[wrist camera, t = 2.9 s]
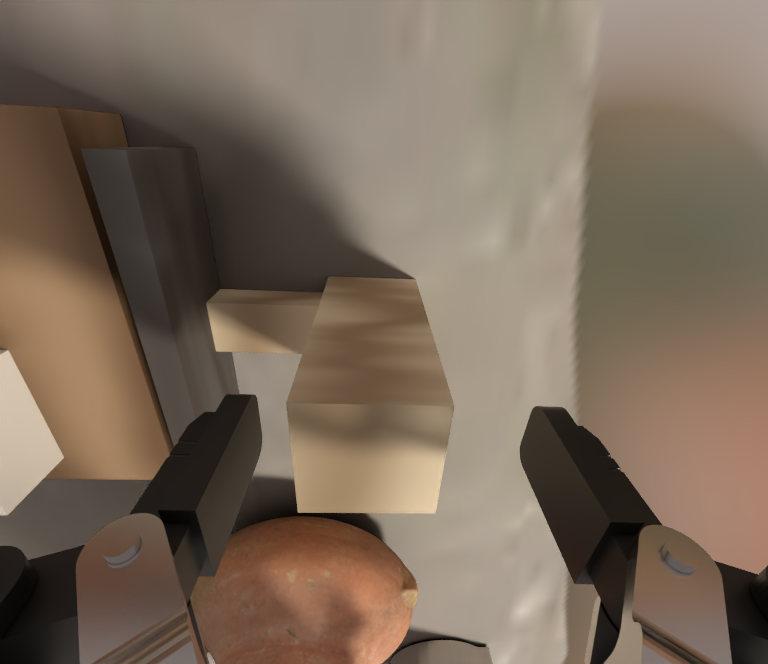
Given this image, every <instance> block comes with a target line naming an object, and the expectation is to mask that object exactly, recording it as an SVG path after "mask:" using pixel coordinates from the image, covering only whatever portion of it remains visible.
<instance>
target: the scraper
mask: <svg viewBox="0 0 768 664" xmlns="http://www.w3.org/2000/svg"><path fill="white" fill-rule="evenodd" d="M80 149H81V152H82V155H83V158H84V161H85V165H86V168H87V171H88V174H89V177H90V180H91V184H92V187H93V190H94V193H95V196H96V200H97V203H98V206H99V209H100V212H101V216H102V219H103V222H104V225H105V228H106V232H107V235H108V238H109V241H110V244H111V247H112V251H113V254H114V257H115V260H116V263H117V267H118V270H119V273H120V276H121V279H122V283H123V286H124V289H125V292H126V295H127V298H128V302H129V305H130V308H131V311H132V314H133V318H134V321H135V324H136V327H137V330H138V334H139V337H140V340H141V343H142V346H143V350H144V353H145V356H146V359H147V362H148V365H149V369H150V372H151V375H152V378H153V381H154V385H155V388H156V391H157V394H158V397H159V401H160V404H161V407H162V410H163V413H164V417H165V420H166V423H167V426H168V429H169V432H170V436H171V439H172V442H173V445H174V446H175V445H176V444H178V440H179V439H180V437H181V435H182V434H183V432H184V431H185V429H186V428H187V426H188V425H189V424H190V423H191V422H193V421H194V420H195V419H196V418H198V417H199V416H200V415H201V414H203V413H204V412H216V410H217V408H218V406H219V405H220V403H221V401H222V400H223V398H224V397H225V395H227V394H239V390H238V384H237V379H236V373H235V368H234V362H233V357H232V352H258V353H297V354H303V355H302V358H301V361H300V364H299V367H298V370H297V373H296V376H295V379H294V382H293V385H292V388H291V391H290V394H289V397H288V400H287V403H286V404H287V414H288V423H289V433H290V443H291V452H292V462H293V471H294V481H295V491H296V500H297V510H298V513H436V508H437V502H438V496H439V491H440V485H441V479H442V474H443V468H444V462H445V457H446V451H447V445H448V439H449V434H450V428H451V422H452V417H453V411H454V404H453V400H452V397H451V394H450V390H449V387H448V384H447V381H446V377H445V374H444V371H443V368H442V364H441V361H440V358H439V354H438V351H437V348H436V345H435V341H434V338H433V335H432V332H431V328H430V325H429V322H428V318H427V315H426V312H425V309H424V305H423V302H422V299H421V296H420V292H419V289H418V286H417V282H416V279H392V278H363V277H335V276H329V277H328V280H327V283H326V286H325V289H324V292H295V291H265V290H234V289H220V284H219V279H218V273H217V267H216V262H215V256H214V251H213V245H212V240H211V234H210V229H209V223H208V217H207V212H206V206H205V201H204V195H203V190H202V184H201V178H200V173H199V167H198V162H197V156H196V151H195V148H183V147H120V148H80Z"/></svg>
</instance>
